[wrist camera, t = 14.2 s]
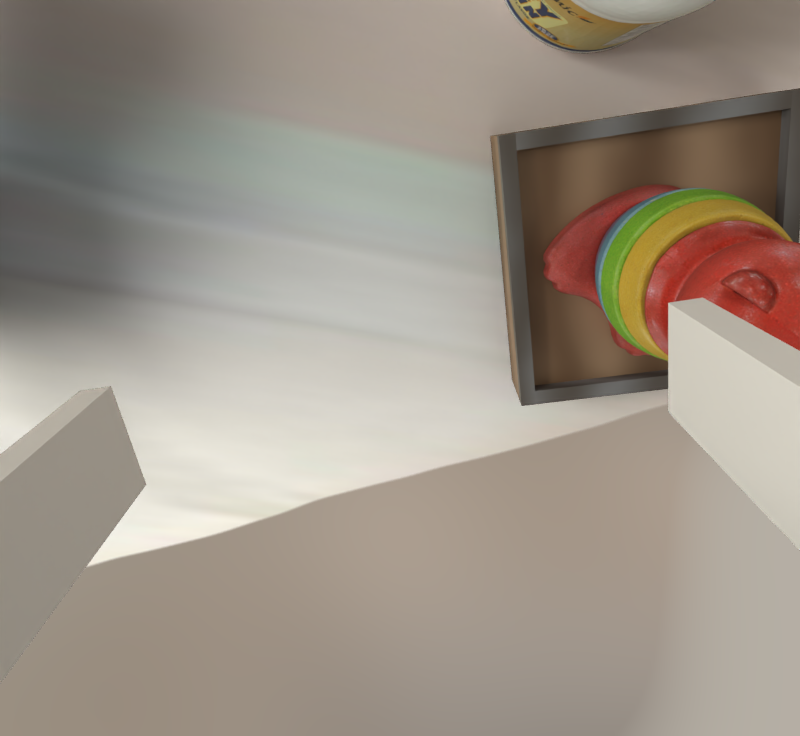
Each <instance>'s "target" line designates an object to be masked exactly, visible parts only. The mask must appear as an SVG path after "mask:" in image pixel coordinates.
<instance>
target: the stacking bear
mask: <svg viewBox="0 0 800 736" xmlns="http://www.w3.org/2000/svg"><path fill="white" fill-rule="evenodd" d="M543 260H544V262H545V267H544V270H543V273H544V276H545V278H546V279H547V280H550V281H552V285H553V287H554V288H555V289H556V290H557V291H559V292H561V293H565V294H571V295H576V296H580V297H583V298H585V299H588V300H590V301H591V302H593V303H594V304H596V305H597V306H598V307H599V308H600V309H601V310H602V311H603V313H604V314H605V316H606V318H607V320H608V322H609V326H610V330H611V335H612V338H613V340H614V342H615V343H616V344H617V346H618V347H620V348H623V349H625V350H626V351H627V352H628V353H629V354H631V355H633V356H641V355H652V356H654V357H657V358H660V359H663V360H666V361H668V303H670V302H677V301H683V300H690V299H697V298H704V299H706V300H708V301H710V302H712V303H714V304H715V305H717V306H719V307H721V308H723V309H724V310H726V311H728V312H730V313H732V314H734V315H735V316H737V317H739V318H741V319H743V320H744V321H746V322H748V323H750V324H752V325H754V326H755V327H757V328H759V329H761V330H763V331H764V332H766V333H768V334H770V335H772V336H774V337H775V338H777V339H779V340H781V341H783V342H784V343H786V344H788V345H790V346H792V347H794V348H795V349H797V350H799V351H800V243H796V242H793V241H792V240H791V238H790V237H789V235H788V234H787V233H786V232H785V231H784V230H783V228H782V227H781V226H780V225H779V224H778V223H777V222H775V221H774V220H773V219H772V218H771V217H769V216H768V215H766V214H765V213H764V212H763V211H762V210H760V209H759V208H757V207H756V206H755V205H753V204H751V203H749V202H748V201H746V200H744V199H742V198H740V197H737V196H735V195H732V194H729V193H726V192H722V191H718V190H712V189H706V188H686V189H681V188H678V187H675V186H671V185H657V184H655V185H646V186H641V187H636V188H633V189H630V190H626V191H623V192H620V193H618V194H615V195H613V196H610V197H608V198H606V199H604V200H602V201H600V202H599V203H597V204H595V205H593V206H591V207H590V208H588V209H587V210H585V211H584V212H582V213H581V214H580V215H578V216H577V217H576V218H575V219H573V220H572V221H571V222H570V223H569V224H567V225H566V226H565V227H564V228H563V229H562V230H561V231H560V233H559V234H558V235H557V236H556V237H555V238H554V239H553V240H552V242H551V243H550V245H549V246H548V247H547V249H546V251H545V253H544V255H543Z"/></svg>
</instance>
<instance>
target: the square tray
mask: <svg viewBox="0 0 800 736" xmlns="http://www.w3.org/2000/svg"><path fill="white" fill-rule="evenodd" d="M490 137H491V148H492V160H493V171H494V182H495V193H496V204H497V216H498V227H499V238H500V249H501V260H502V272H503V283H504V294H505V305H506V316H507V328H508V339H509V350H510V361H511V372H512V381H513V383H514V386H515V389H516V392H517V394H518V397H519V400H520V402H521V405H522V406H524V405H533V404H541V403H550V402H558V401H567V400H575V399H584V398H592V397H601V396H609V395H618V394H627V393H635V392H644V391H652V390H661V389H668V361H666V360H663V359H660V358H657V357H654V356H652V355H641V356H633V355H631V354H629V353H628V352H627V351H626V350H625V349H623V348H620V347H618V346H617V344H616V343H615V342H614V340H613V338H612V335H611V330H610V326H609V322H608V320H607V318H606V316H605V314H604V313H603V311H602V310H601V309H600V308H599V307H598V306H597V305H596V304H594V303H593V302H591V301H590V300H588V299H585V298H583V297H580V296H576V295H571V294H565V293H561V292H559V291H557V290H556V289H555V288H554V287H553V285H552V281H550V280H547V279H546V278H545V276H544V273H543V270H544V267H545V262H544V260H543V255H544V253H545V251H546V249H547V247H548V246H549V245H550V243H551V242H552V240H553V239H554V238H555V237H556V236H557V235H558V234H559V233H560V231H561V230H562V229H563V228H564V227H565V226H566V225H567V224H569V223H570V222H571V221H572V220H573V219H575V218H576V217H577V216H578V215H580V214H581V213H582V212H584V211H585V210H587V209H588V208H590V207H591V206H593V205H595V204H597V203H599V202H600V201H602V200H604V199H606V198H608V197H610V196H613V195H615V194H618V193H620V192H623V191H626V190H630V189H633V188H636V187H641V186H646V185H655V184H657V185H671V186H675V187H678V188H681V189H686V188H706V189H712V190H718V191H722V192H726V193H729V194H732V195H735V196H737V197H740V198H742V199H744V200H746V201H748V202H749V203H751V204H753V205H755V206H756V207H757V208H759V209H760V210H762V211H763V212H764V213H765V214H766V215H768V216H769V217H771V218H772V219H773V220H774V221H775V222H777V223H778V224H779V225H780V226H781V227H782V228H783V230H784V231H785V232H786V233H787V234H788V235H789V237H790V238H791V240H792V241H793V242H796V243H798V242H799V229H800V88H799V89H792V90H785V91H778V92H771V93H764V94H757V95H751V96H744V97H738V98H732V99H725V100H719V101H712V102H706V103H700V104H693V105H687V106H680V107H674V108H668V109H661V110H655V111H648V112H642V113H635V114H629V115H623V116H616V117H610V118H603V119H597V120H591V121H584V122H578V123H571V124H565V125H559V126H552V127H546V128H539V129H533V130H526V131H520V132H514V133H507V134H501V135H494V136H490Z"/></svg>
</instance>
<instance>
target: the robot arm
mask: <svg viewBox="0 0 800 736" xmlns="http://www.w3.org/2000/svg"><path fill="white" fill-rule="evenodd" d="M668 412H669V413H670V415H671V416H672V417H673V418H674V419H675V420H676V421H677V422H678V423H679V424H680V425H681V426H682V427H683V428H684V429H685V430H686V431H687V432H688V433H689V435H690V436H691V437H692V438H693V439H694V440H695V441H696V442H697V443H698V444H699V445H700V446H701V447H702V448H703V449H704V450H705V451H706V452H707V454H709V456H710V457H711V458H712V459H713V460H714V461H715V462H716V463H717V464H718V465H719V466H720V467H721V468H722V469H723V470H724V471H725V472H726V474H727V475H729V477H730V478H731V479H732V480H733V481H734V482H735V483H736V484H737V485H738V486H739V487H740V488H741V489H742V490H743V491H744V492H745V494H746V495H747V496H748V497H749V498H750V499H751V500H752V501H753V502H754V503H755V504H756V505H757V506H758V507H759V508H760V509H761V510H762V511H763V513H764V514H765V515H766V516H767V517H768V518H769V519H770V520H771V521H772V522H773V523H774V524H775V525H776V526H777V527H778V528H779V529H780V530H781V531H782V533H784V535H785V536H786V537H787V538H788V539H789V540H790V541H791V542H792V543H793V544H794V545H795V546H796V547H797V548H798V549H799V550H800V351H799V350H797V349H795V348H794V347H792V346H790V345H788V344H786V343H784V342H783V341H781V340H779V339H777V338H775V337H774V336H772V335H770V334H768V333H766V332H764V331H763V330H761V329H759V328H757V327H755V326H754V325H752V324H750V323H748V322H746V321H744V320H743V319H741V318H739V317H737V316H735V315H734V314H732V313H730V312H728V311H726V310H724V309H723V308H721V307H719V306H717V305H715V304H714V303H712V302H710V301H708V300H706V299H704V298H697V299H690V300H683V301H677V302H670V303H668ZM145 485H146V483H145V480H144V477H143V474H142V472H141V469H140V466H139V463H138V460H137V458H136V455H135V452H134V449H133V446H132V444H131V441H130V438H129V435H128V433H127V430H126V427H125V424H124V421H123V419H122V416H121V413H120V410H119V408H118V405H117V402H116V399H115V396H114V394H113V391H112V388H111V386H108V387H102V388H95V389H88V390H82V391H79V392H78V393H77V394H75V395H74V396H73V397H72V398H70V399H69V400H68V401H67V402H65V403H64V404H63V405H62V406H60V407H59V408H58V409H57V410H55V411H54V412H53V413H52V414H50V415H49V416H48V417H47V418H45V419H44V420H43V421H42V422H40V423H39V424H38V425H37V426H35V427H34V428H33V429H32V430H30V431H29V432H28V433H27V434H25V435H24V436H23V437H22V438H20V439H19V440H18V441H17V442H15V443H14V444H13V445H12V446H10V447H9V448H8V449H7V450H5V451H4V452H3V453H2V454H0V684H1V682H2V681H3V680H4V678H5V677H6V676H7V674H8V673H9V671H10V670H11V669H12V667H13V666H14V665H15V663H16V662H17V661H18V659H19V658H20V656H21V655H22V654H23V652H24V651H25V650H26V648H27V647H28V645H29V644H30V643H31V641H32V640H33V639H34V637H35V636H36V634H37V633H38V632H39V630H40V629H41V628H42V626H43V625H44V624H45V622H46V621H47V619H48V618H49V617H50V615H51V614H52V613H53V611H54V610H55V608H56V607H57V606H58V604H59V603H60V602H61V600H62V599H63V598H64V596H65V595H66V594H67V592H68V591H69V589H70V588H71V587H72V585H73V584H74V583H75V581H76V580H77V578H78V577H79V576H80V574H81V573H82V572H83V570H84V569H85V568H86V566H87V565H88V563H89V562H90V561H91V559H92V558H93V557H94V555H95V554H96V553H97V551H98V550H99V548H100V547H101V546H102V544H103V543H104V542H105V540H106V539H107V537H108V536H109V535H110V533H111V532H112V531H113V529H114V528H115V527H116V525H117V524H118V522H119V521H120V520H121V518H122V517H123V516H124V514H125V513H126V511H127V510H128V509H129V507H130V506H131V505H132V503H133V502H134V501H135V499H136V498H137V496H138V495H139V494H140V492H141V491H142V490H143V488H144V487H145Z"/></svg>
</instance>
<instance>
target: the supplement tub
mask: <svg viewBox="0 0 800 736" xmlns="http://www.w3.org/2000/svg"><path fill="white" fill-rule="evenodd" d="M504 1H505V3H506V5H507V7H508V8H509V10H510V12H511V13H512V15H513V16H514V18H515V19H516V20H517V21H518V23H519V24H520V25H521V26H522V27H523V28H524V29H525V30H526V31H527V32H529V33H530V34H531V35H532V36H533V37H535V38H536V39H538V40H539V41H541V42H543V43H545V44H547V45H549V46H551V47H553V48H556V49H559V50H563V51H567V52H573V53H594V52H600V51H605V50H608V49H611V48H614V47H617V46H620V45H622V44H624V43H626V42H628V41H630V40H632V39H634V38H636V37H637V36H639V35H640V34H642V33H644V32H646V31H648V30H650V29H653V28H655V27H657V26H659V25H661V24H664V23H666V22H668V21H671V20H673V19H675V18H678V17H681V16H684V15H687V14H689V13H692V12H694V11H697V10H699V9H701V8H703V7H705V6H707V5H709V4H710V3H712V2H714V1H715V0H504Z"/></svg>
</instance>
